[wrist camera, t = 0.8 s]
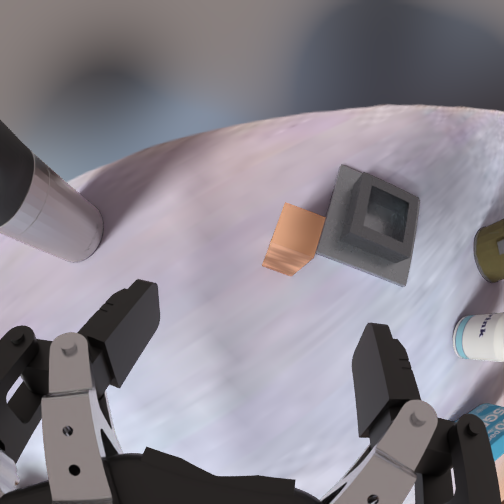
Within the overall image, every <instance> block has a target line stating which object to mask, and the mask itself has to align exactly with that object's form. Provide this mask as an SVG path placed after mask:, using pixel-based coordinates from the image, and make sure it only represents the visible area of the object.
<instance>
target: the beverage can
mask: <svg viewBox="0 0 504 504" xmlns="http://www.w3.org/2000/svg"><path fill="white" fill-rule="evenodd" d="M453 348H454V351H455V353H456V354H457V356H459V357H460V358H464V359H474V360H484V361H496V362H504V312H503V313H494V314H483V315H472V316H465V317H463V318H462V319H461V320H460V321H459V322H458V324H457V325H456V327H455V330H454V334H453Z"/></svg>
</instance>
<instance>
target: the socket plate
mask: <svg viewBox="0 0 504 504" xmlns="http://www.w3.org/2000/svg"><path fill="white" fill-rule="evenodd" d="M419 203H420V200H419V198H418V197H416V196H414V195H412V194H410V193H408V192H406V191H404V190H402V189H400V188H398V187H396V186H394V185H392V184H390V183H387V182H385V181H383V180H381V179H379V178H377V177H374V176H372V175H370V174H368V173H365V172H363V173H361V172H358V171H356V170H354V169H351V168H349V167H346V166H344V165H342V164H341V166H340V168H339V171H338V175H337V179H336V183H335V186H334V190H333V194H332V197H331V201H330V204H329V208H328V211H327V215H326V219H325V222H324V226H323V229H322V232H321V236H320V239H319V242H318V245H317V249H316V252H315V253H316V254H318V255H321V256H324V257H326V258H329V259H332V260H334V261H337V262H340V263H342V264H345V265H347V266H350V267H353V268H355V269H358V270H360V271H363V272H366V273H368V274H371V275H373V276H376V277H379V278H381V279H384V280H386V281H389V282H391V283H394V284H396V285H399V286H401V287H404V286H406V283H407V278H408V273H409V268H410V263H411V258H412V252H413V247H414V241H415V234H416V227H417V220H418V212H419Z"/></svg>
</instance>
